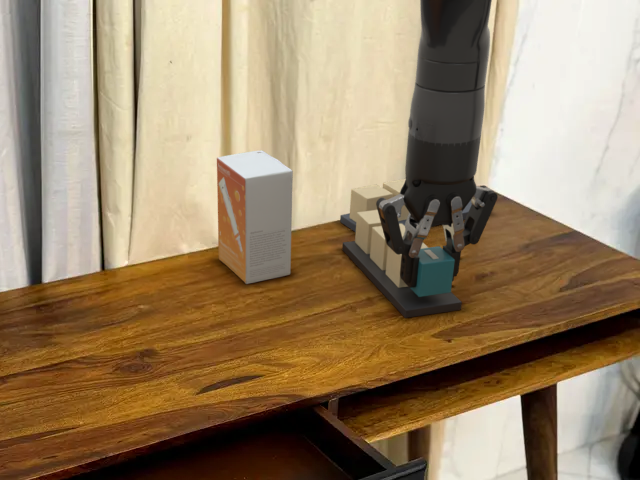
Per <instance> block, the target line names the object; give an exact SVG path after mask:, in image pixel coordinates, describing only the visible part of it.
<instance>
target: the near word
mask: <svg viewBox="0 0 640 480" xmlns="http://www.w3.org/2000/svg"><path fill="white" fill-rule="evenodd" d="M399 226H400V230H401V234H402V238H403V236H404V233H405V226H404V225H403V224H399ZM354 238H355V239H354V240H352V241H351V240H350V241H344V242H342V244H341V245H342V246H341V247H342V248H341V250H342V251H343V252H344V253H345V254H346V256H347V257H348V258H349V259H350V260H351V261H352V262H353V263H354V264H355V265H356V266H357V268H358V269H360V271H361V272H362V273H363V274H364V275H365V276H366V278H368V280H370V282H371V283H372V284H373V285H374V286H375V287H376V288H377V290H379V291H380V292H381V294H382V295H384V297H385V298H386V299H387V300H388V301H389V302H390V303H391V304H392V306H394V307H395V309H396V310H397V311H398V312H399V313H400V314H401V315H402V316H403V318H405V319H409V318H416V317H423V316H429V315H434V314H435V315H436V314H443V313H448V312H455V311H461V310H462V303H463V302H462V301H461V300H460V299H459V298H458V297H457V296H456V295H455V294H454V293H453V292H452V291H451V292H450V293H443V294H437V295H430V296H423V297H418V295H417V294H416V293H415V292H414V291H413V290H412V289H411V288H409V287H408V286H407V285H406V284H405V282H404V281H403V280H402V279H401V277H400V267H401V255H402V254H400V255H398V254H396V253H395V252H394V251H393V250H392V249H391V248H390V247H389V246H388V245H387V244H386V240H385V237H384V233H383V229H382V225H381V221H380V217H379V214H378V210H372V211H364V212H357V220H356V232H355V237H354ZM423 248H429V247H428V245H426V244H425V243H424V242H423V243H422V246H421V249H423Z"/></svg>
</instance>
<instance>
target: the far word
mask: <svg viewBox="0 0 640 480" xmlns="http://www.w3.org/2000/svg"><path fill="white" fill-rule="evenodd" d="M405 179H406V178H401V179H396V180H391V181H385V182H383V183H382V186H381V185H379V184H377V183H376V184H370V185H365V186H360V187H354V188H351V189H350V204H349V213H344V214H340V218H339V219H340V220H339V222H340V223H341V224H342V225H344V226H345V227H347V228H349V229H350V230H352V231H353V232H354V233H356V220H357V212H364V211H372V210H377V206H376V202H377V200H378V199H379V198H385V199H386V200H388V199H390V198H392V197H394V196H397V195H399V194H400V191H401V188H402V187H403V185H404V183H405ZM471 205H472V203H471V200H470V202H469V203H468V204H467V206H466V207H465V209H464V210H463V211H462V216H463V221H465V219H466V217H467V214H468V212H469V210H470V207H471ZM408 214H409V211H408V210H407V208H406V206H405V205H403V207H402V209H401V217H400V218H398V222H399V224H403V225H404V226H405V223H406V220H407V217H408ZM418 224H419V223H418ZM439 225H441V224H438V225H437V226H439Z"/></svg>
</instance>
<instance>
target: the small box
mask: <svg viewBox="0 0 640 480" xmlns="http://www.w3.org/2000/svg"><path fill="white" fill-rule="evenodd" d="M293 172H294V171H293V170H292V169H291V168H290V167H288V166H287V165H286V164H284V163H283V162H281V160H279V159H277V158H275V157H273V156H272V155H271V154H269V153H267V152H265V150H261V149H260V150H252V151H245V152H239V153H234V154H228V155H222V156H218V157H216V181H217V183H216V185H217V186H216V188H217V228H218V229H217V241H218V242H217V243H218V245H217V248H218V249H217V251H218V260H219V261H220V262H222V263H223V264H224V265H226V267H227V268H229V269H230V271H232V272H233V273H234V274H235V275H236V276H237V277H238V278H239V279H240V280H241V281H243V283H244V284H246V285H249V284H254V283H259V282H263V281H268V280H273V279H277V278H282V277H285V276H289V275H291V273H292V272H291V265H292V264H291V263H292V262H291V261H292V224H293V223H292V222H293V221H292V219H293V182H294V181H293V177H294V176H293V174H294V173H293Z"/></svg>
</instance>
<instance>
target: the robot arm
mask: <svg viewBox="0 0 640 480" xmlns="http://www.w3.org/2000/svg"><path fill="white" fill-rule="evenodd" d="M419 2H420V4H419V7H420V10H419V11H420V36H419V41H418V48H417V58H416V68H415V69H416V70H415V82H414V89H413V92H412V98H411V103H410V110H409V118H408V122H407V125H408V130H407V131H408V133H407V143H406V144H407V145H406V156H405V165H404V166H405V167H404V168H405V169H404V170H405V171H404V173H405V174H404V175H405V178H404V179H405V183H404V185H403V187H402V188H401V191H400V194H399V195H397V196H394V197H392V198H390V199H388V200H386V199H385V198H379V199H378V200H377V202H376V206H377V210H378V214H379V217H380V221H381V225H382V229H383V233H384V237H385V240H386V244H387V245H388V246H389V247H390V248H391V249H392V250H393V251H394V252H395V253H396V254H398V255H400V254H402V255H401V267H400V277H401V279H402V280H403V281H404V282H405V284H406V285H407V286H408V287H409V288H412V287H416V285H417V275H418V266H419V259H420V257H418V254H419V252H420V249H421V246H422V243H424V240H426V239H427V238H428V236H429V233H430V231H431V228H433V227H436V226H439V225H438V224H440V225H441V226H442V228H443V233H444V240H445V243H446V244H445V245H442V249H443V250H444V251H445V252H447V253H448V254H449V255H450V256H451V257H452V258H453V259H455V262H454V271H453V279H452V283H453V282H454V281H455V277H458V274H459V271H460V264H461V255H462V251H463V250H464V248H465V247H466V246H468V245H470V244H471V245H477V244H478V243H479V241H480V240H481V237H482V235H483V232H484V230H485V228H486V226H487V224H488V221H489V219H490V216H491V214H492V213H493V210H494V207H495V205H496V203H497V201H498V198H499V196H498V194H497V193H496V192H495V191H494V190H493V189H491V188H490V187H488V186H486V185H484V184H483V185H480V186H479V185H477V184H476V181H475V176H476V173H477V169H478V162H479V154H480V147H481V140H482V133H483V132H482V131H483V123H484V116H485V104H486V102H485V101H486V100H485V99H486V97H485V96H486V95H485V94H486V93H485V92H486V81H487V73H488V66H489V57H490V49H491V48H490V47H491V31H490V27H489V21H490V16H491V15H490V14H491V8H492V2H493V0H419ZM470 200H471V203H472V205H471V207H470V210H469V212H468V214H467V217H466V219H464V220H463V216H462V211H463V210H464V209H465V207H466V206H467V204H468V203H469V202H470ZM403 205H405V206H406V208H407V210H408V211H409V214H408V217H407V220H406V223H405V233H404V236H403V238H402V234H401V230H400V226H399V222H398V218H400V217H401V209H402V207H403ZM418 223H419V224H418Z"/></svg>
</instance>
